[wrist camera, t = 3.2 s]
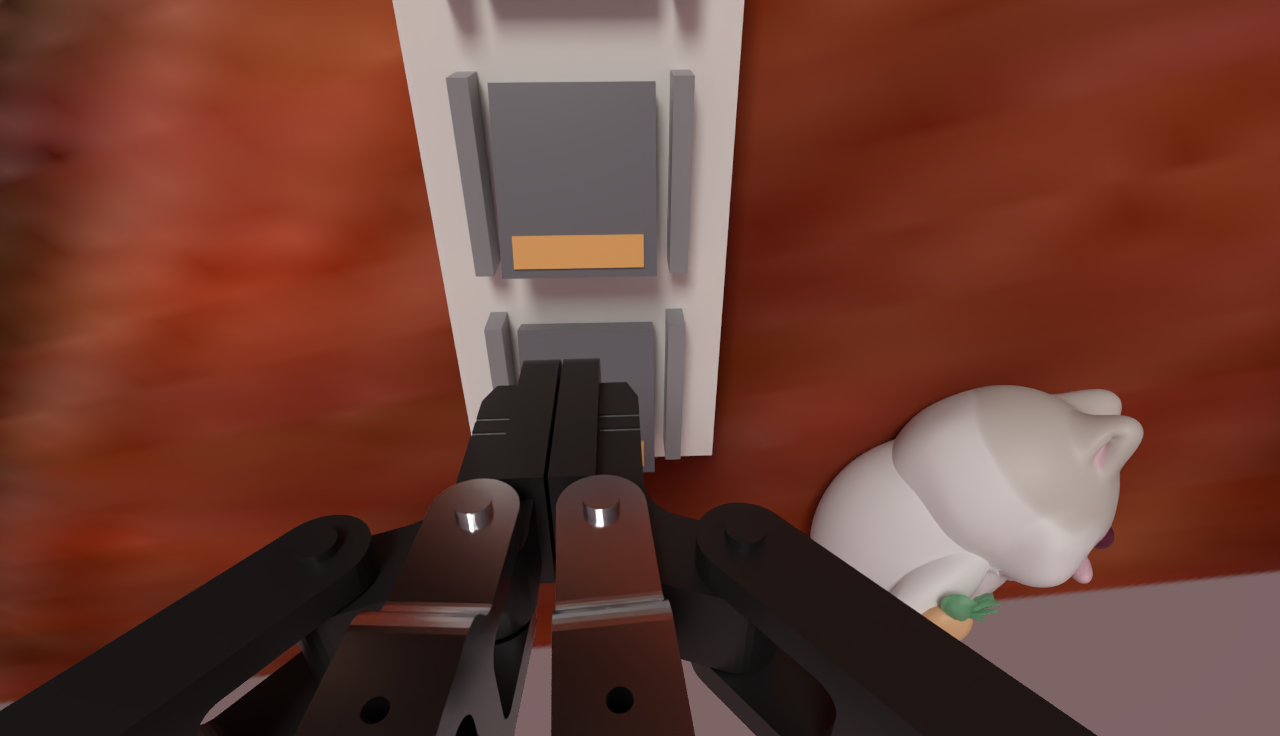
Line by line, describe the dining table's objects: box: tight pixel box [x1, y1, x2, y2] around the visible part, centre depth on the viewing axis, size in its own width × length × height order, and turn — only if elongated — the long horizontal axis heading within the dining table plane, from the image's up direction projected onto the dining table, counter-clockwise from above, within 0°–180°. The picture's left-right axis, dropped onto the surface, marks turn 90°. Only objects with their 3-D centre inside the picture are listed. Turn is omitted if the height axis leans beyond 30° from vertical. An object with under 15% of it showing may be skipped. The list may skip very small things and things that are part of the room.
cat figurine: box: [810, 385, 1143, 641], centre depth 28 cm, size 10×8×15 cm
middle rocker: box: [487, 81, 657, 279], centre depth 19 cm, size 6×5×1 cm
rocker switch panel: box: [393, 0, 744, 460], centre depth 21 cm, size 24×10×4 cm, turn 0°
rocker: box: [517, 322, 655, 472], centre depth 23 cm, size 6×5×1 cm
